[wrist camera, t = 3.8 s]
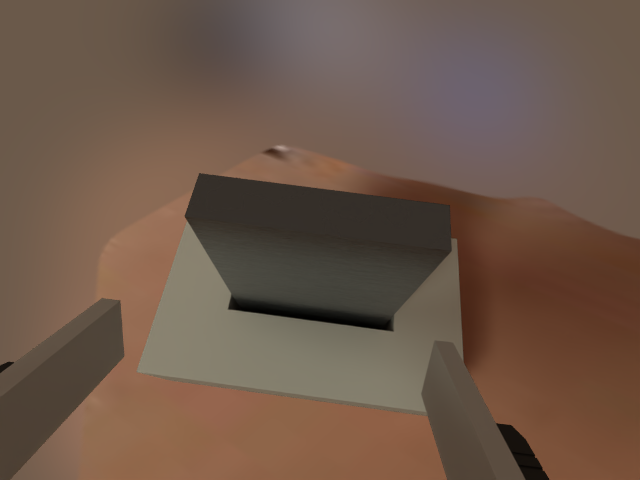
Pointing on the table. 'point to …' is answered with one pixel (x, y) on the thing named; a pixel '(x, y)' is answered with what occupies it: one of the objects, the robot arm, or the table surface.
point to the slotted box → (298, 341)
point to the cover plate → (317, 248)
